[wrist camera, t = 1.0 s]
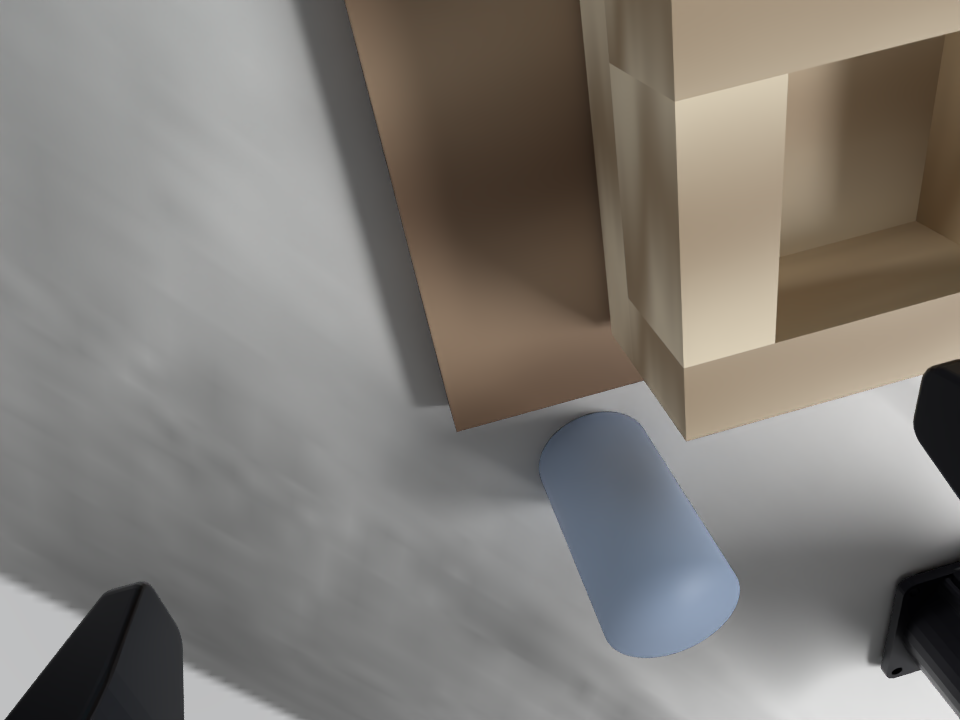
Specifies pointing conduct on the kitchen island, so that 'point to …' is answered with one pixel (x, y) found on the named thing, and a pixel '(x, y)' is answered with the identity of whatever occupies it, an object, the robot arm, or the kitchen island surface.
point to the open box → (776, 196)
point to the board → (496, 195)
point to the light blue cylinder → (635, 538)
